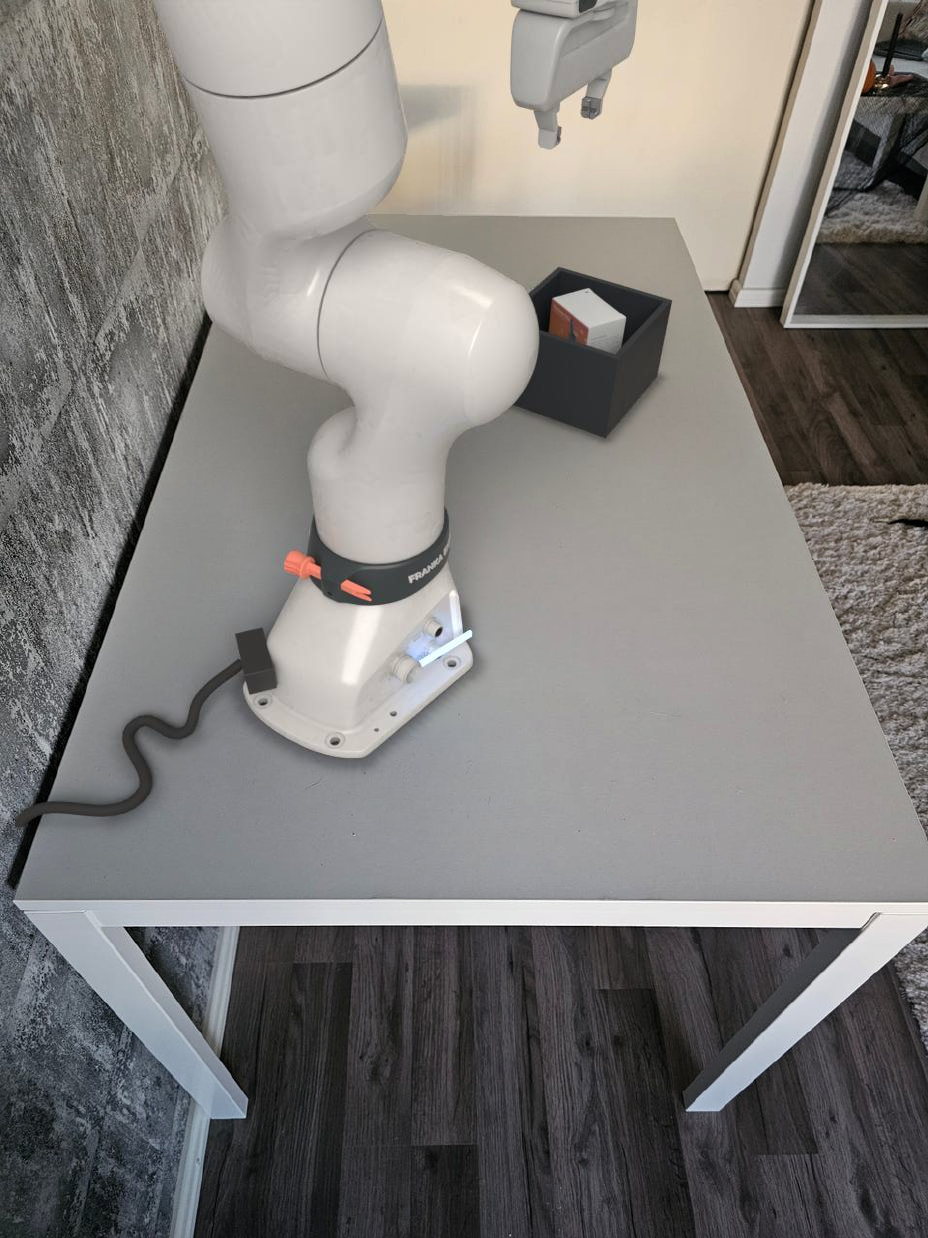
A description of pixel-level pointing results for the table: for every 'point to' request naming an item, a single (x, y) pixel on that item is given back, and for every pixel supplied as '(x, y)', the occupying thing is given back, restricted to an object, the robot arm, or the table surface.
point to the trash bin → (594, 356)
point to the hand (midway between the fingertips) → (570, 130)
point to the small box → (587, 320)
